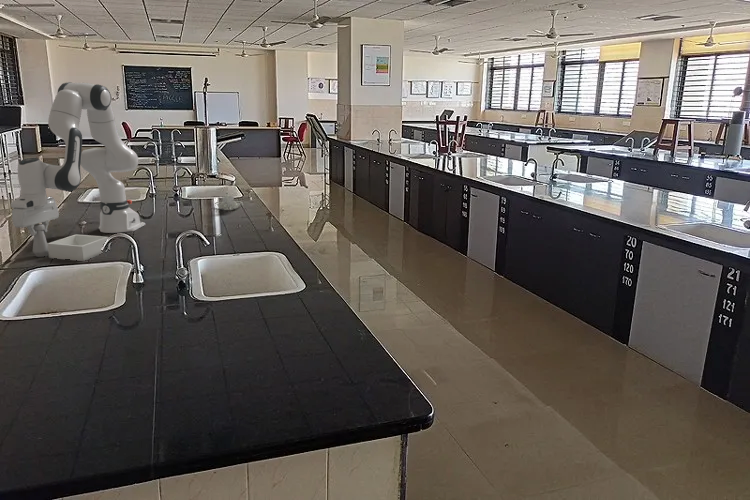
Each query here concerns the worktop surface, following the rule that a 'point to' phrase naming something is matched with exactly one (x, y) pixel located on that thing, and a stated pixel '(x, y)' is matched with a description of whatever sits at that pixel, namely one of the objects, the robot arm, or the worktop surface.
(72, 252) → the box
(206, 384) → the worktop surface
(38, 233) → the salt shaker
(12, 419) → the worktop surface
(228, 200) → the skeletal model
